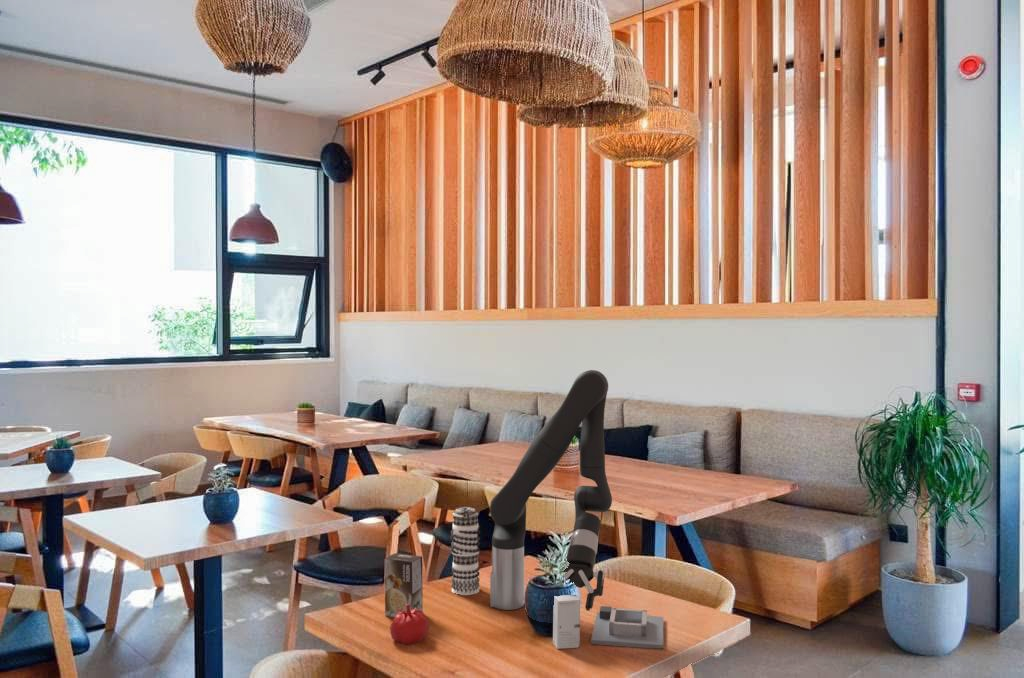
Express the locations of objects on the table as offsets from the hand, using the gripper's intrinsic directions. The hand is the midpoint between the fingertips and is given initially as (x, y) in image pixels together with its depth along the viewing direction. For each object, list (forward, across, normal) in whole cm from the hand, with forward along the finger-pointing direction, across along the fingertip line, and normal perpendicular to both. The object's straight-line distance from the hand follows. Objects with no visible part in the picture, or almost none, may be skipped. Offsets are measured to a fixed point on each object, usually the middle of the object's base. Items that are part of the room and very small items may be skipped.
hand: (571, 607), depth 207 cm
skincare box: (+8, -1, +5) cm, 9 cm away
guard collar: (-2, +12, +15) cm, 19 cm away
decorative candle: (-13, -41, +25) cm, 50 cm away
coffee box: (+4, -49, +8) cm, 50 cm away
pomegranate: (+15, -40, -3) cm, 42 cm away
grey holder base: (-2, +12, +15) cm, 19 cm away
